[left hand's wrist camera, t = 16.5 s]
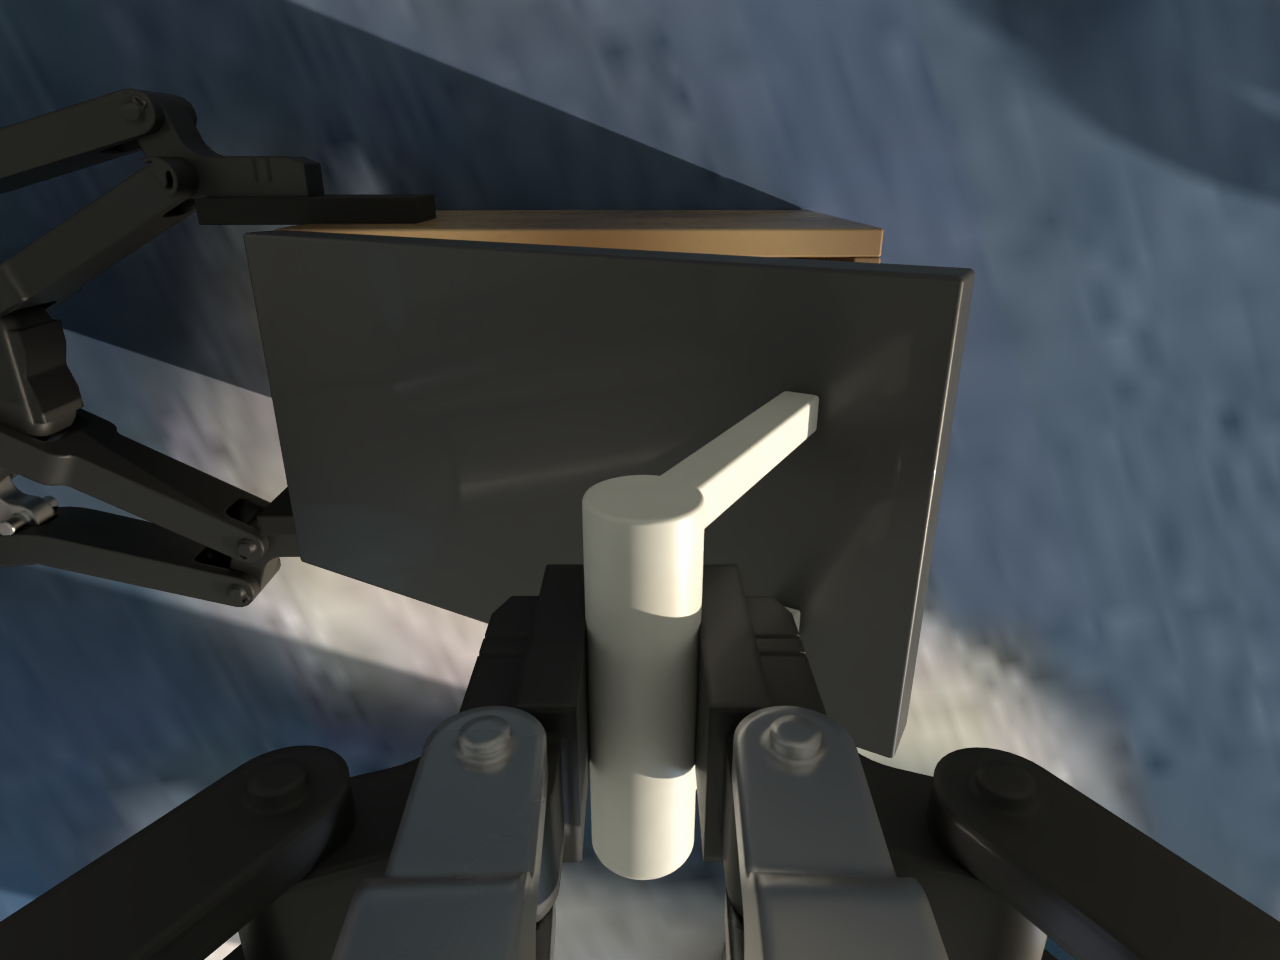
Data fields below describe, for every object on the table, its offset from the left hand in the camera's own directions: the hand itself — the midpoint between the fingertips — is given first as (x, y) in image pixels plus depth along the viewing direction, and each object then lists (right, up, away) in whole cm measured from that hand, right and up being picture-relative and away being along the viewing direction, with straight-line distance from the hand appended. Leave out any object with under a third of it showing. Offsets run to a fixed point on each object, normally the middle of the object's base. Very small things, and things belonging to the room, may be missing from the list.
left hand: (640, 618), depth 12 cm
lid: (-2, +3, +7) cm, 8 cm away
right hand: (-7, +6, +15) cm, 17 cm away
